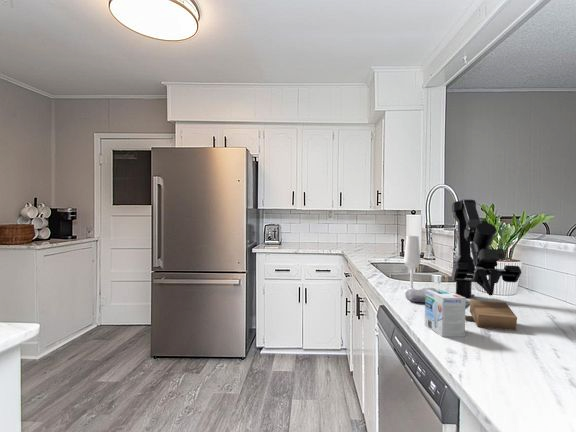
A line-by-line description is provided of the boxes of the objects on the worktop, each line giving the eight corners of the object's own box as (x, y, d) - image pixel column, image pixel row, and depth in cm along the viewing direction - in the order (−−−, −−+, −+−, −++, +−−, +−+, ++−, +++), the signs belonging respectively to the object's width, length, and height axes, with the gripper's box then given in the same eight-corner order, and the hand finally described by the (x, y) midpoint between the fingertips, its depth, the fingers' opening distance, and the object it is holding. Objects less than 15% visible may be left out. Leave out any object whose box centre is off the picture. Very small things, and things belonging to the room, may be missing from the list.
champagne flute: (417, 294, 145) (418, 236, 144) (401, 292, 148) (402, 236, 148) (421, 292, 150) (422, 236, 150) (405, 289, 154) (406, 235, 154)
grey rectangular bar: (464, 319, 111) (464, 315, 111) (514, 323, 108) (514, 319, 108) (465, 320, 110) (465, 316, 110) (516, 324, 106) (516, 320, 106)
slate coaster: (443, 299, 137) (443, 298, 137) (469, 303, 131) (469, 302, 131) (437, 304, 130) (437, 302, 130) (464, 308, 124) (464, 306, 124)
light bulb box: (423, 324, 105) (424, 289, 105) (445, 324, 106) (445, 289, 106) (442, 337, 94) (443, 297, 94) (466, 337, 95) (466, 297, 95)
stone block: (444, 307, 129) (435, 296, 139) (444, 295, 128) (435, 285, 138) (410, 308, 130) (404, 297, 140) (410, 296, 129) (404, 286, 139)
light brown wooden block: (470, 299, 112) (478, 314, 103) (505, 302, 110) (517, 317, 100) (469, 311, 113) (477, 326, 104) (504, 314, 111) (515, 330, 101)
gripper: (455, 238, 116) (462, 277, 105) (519, 240, 111) (534, 281, 100) (450, 259, 123) (456, 297, 113) (510, 262, 118) (522, 302, 108)
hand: (491, 294), depth 108 cm, fingers closed
